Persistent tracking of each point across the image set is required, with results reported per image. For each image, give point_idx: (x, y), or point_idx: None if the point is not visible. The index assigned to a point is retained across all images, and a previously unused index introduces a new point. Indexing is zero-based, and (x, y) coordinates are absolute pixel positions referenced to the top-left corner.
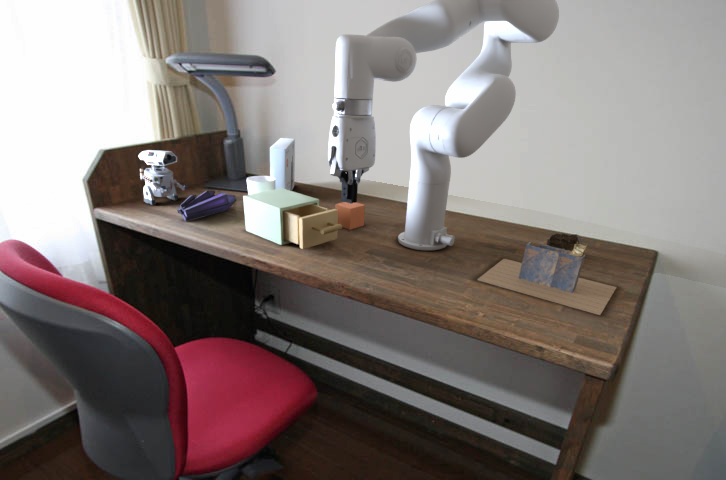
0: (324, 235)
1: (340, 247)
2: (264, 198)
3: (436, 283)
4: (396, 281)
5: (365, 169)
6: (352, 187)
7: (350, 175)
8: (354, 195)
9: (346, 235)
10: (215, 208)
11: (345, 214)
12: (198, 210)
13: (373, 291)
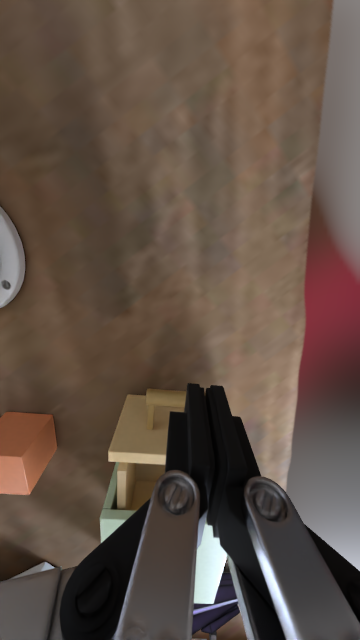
0: (164, 407)
1: (147, 367)
2: (197, 577)
3: (163, 27)
4: (224, 143)
5: (7, 622)
6: (242, 451)
7: (304, 577)
8: (205, 409)
9: (83, 399)
10: None
11: (35, 452)
12: (223, 589)
13: (309, 154)
